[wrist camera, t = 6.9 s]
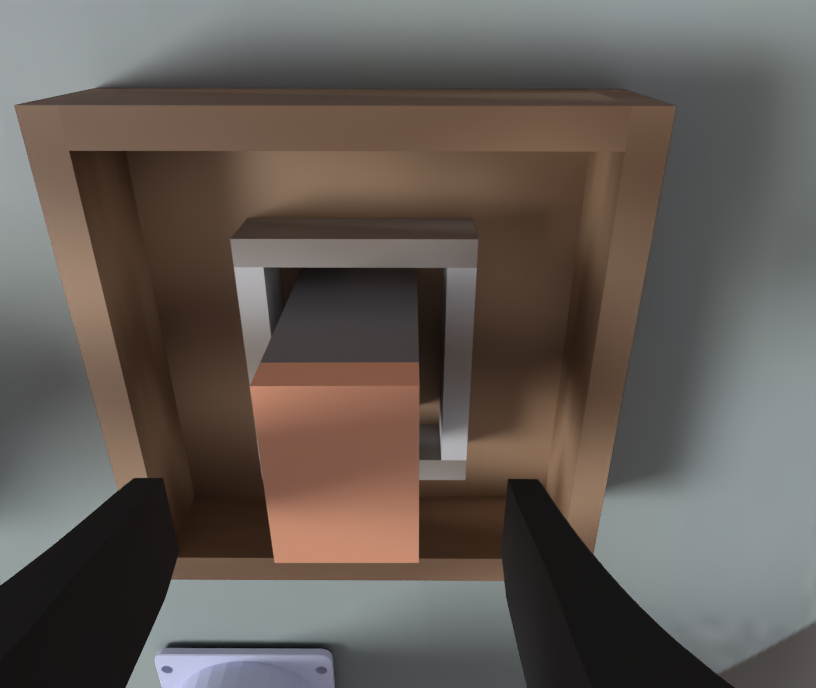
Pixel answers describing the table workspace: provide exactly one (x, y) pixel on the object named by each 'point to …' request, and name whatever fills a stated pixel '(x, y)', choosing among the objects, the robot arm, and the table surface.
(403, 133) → the walled box
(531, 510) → the robot arm
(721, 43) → the table surface
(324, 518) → the rectangular block
